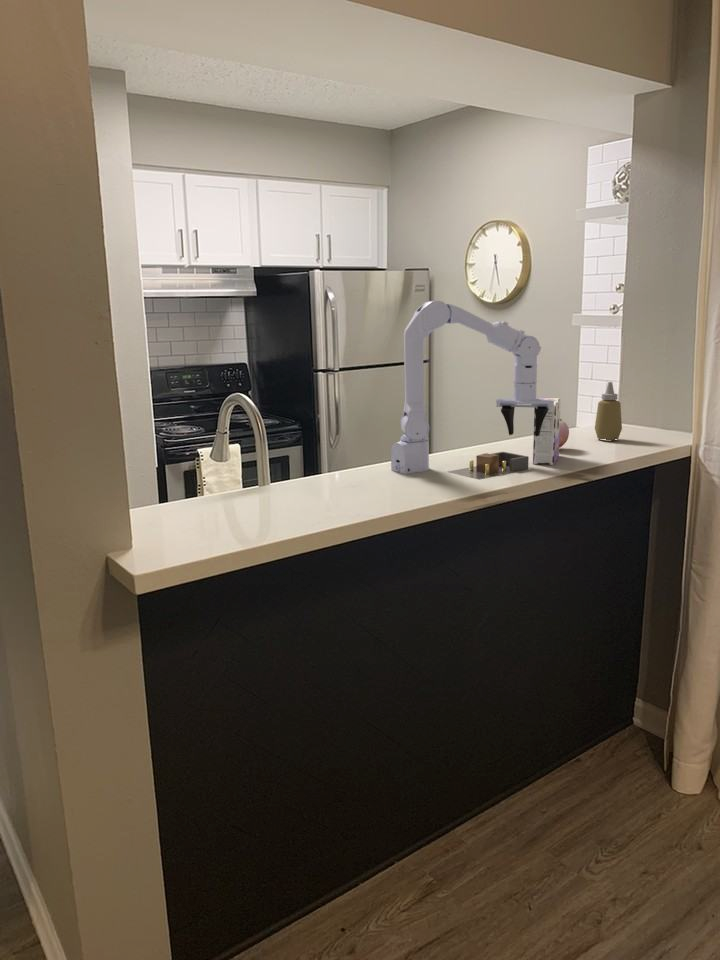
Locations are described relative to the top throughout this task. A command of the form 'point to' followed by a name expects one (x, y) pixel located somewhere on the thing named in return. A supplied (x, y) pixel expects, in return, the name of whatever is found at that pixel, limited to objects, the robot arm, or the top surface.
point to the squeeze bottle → (608, 415)
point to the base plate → (478, 475)
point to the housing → (513, 460)
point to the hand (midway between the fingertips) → (524, 435)
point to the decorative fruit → (563, 433)
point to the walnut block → (487, 462)
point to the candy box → (548, 436)
